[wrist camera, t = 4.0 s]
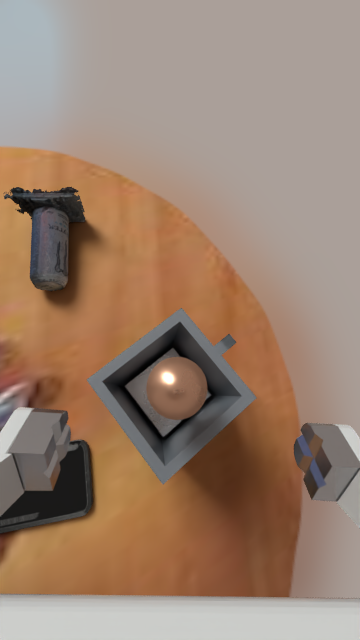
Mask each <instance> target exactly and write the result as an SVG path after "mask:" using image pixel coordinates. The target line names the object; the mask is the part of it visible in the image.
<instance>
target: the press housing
mask: <svg viewBox="0 0 360 640" xmlns="http://www.w3.org/2000/svg"><path fill="white" fill-rule="evenodd" d="M235 343H236V341H235V340H234V339H233V338H232V337H231V335H230V334H228V335H227V336H226V337H225V338H223V339H222V340H221V341H220V342H218V343H217V344H216V345H215V346H213V345H212V344H211V343H210V341H209V340H208V339H207V338H206V337H205V335H204V334H203V333H202V332H201V331H200V329H199V328H198V327H197V326H196V325H195V323H194V322H193V321H192V320H191V319H190V317H189V316H188V315H187V314H186V313H185V311H184V310H183V309H182V308H181V309H179V310H178V311H177V312H175V313H174V314H173V315H171V316H170V317H169V318H167V319H166V320H165V321H163V322H162V323H161V324H159V325H158V326H157V327H155V328H154V329H153V330H151V331H150V332H149V333H148V334H146V335H145V336H144V337H142V338H141V339H140V340H138V341H137V342H136V343H134V344H133V345H132V346H130V347H129V348H128V349H126V350H125V351H124V352H122V353H121V354H120V355H119V356H117V357H116V358H115V359H113V360H112V361H111V362H109V363H108V364H107V365H105V366H104V367H103V368H101V369H100V370H99V371H97V372H96V373H95V374H93V375H92V376H91V377H89V378H88V379H87V381H88V382H89V384H90V385H91V387H92V388H93V389H94V391H95V392H96V393H97V395H98V396H99V397H100V399H101V400H102V402H103V403H104V404H105V406H106V407H107V408H108V410H109V411H110V413H111V414H112V415H113V417H114V418H115V419H116V421H117V422H118V424H119V425H120V426H121V428H122V429H123V430H124V432H125V433H126V435H127V436H128V437H129V439H130V440H131V441H132V443H133V444H134V446H135V447H136V448H137V450H138V451H139V452H140V454H141V455H142V457H143V458H144V459H145V461H146V462H147V463H148V465H149V466H150V467H151V469H152V470H153V472H154V473H155V474H156V476H157V477H158V478H159V480H160V481H161V483H162V484H164V483H165V482H166V481H167V480H168V479H169V478H171V477H172V476H173V475H174V474H175V473H176V472H177V471H178V470H179V469H180V468H181V467H182V466H184V465H185V464H186V463H187V462H188V461H189V460H190V459H191V458H192V457H193V456H194V455H195V454H196V453H198V452H199V451H200V450H201V449H202V448H203V447H204V446H205V445H206V444H207V443H208V442H209V441H211V440H212V439H213V438H214V437H215V436H216V435H217V434H218V433H219V432H220V431H221V430H222V429H223V428H225V427H226V426H227V425H228V424H229V423H230V422H231V421H232V420H233V419H234V418H235V417H236V416H237V415H239V414H240V413H241V412H242V411H243V410H244V409H245V408H246V407H247V406H248V405H249V404H250V403H252V402H253V401H254V400H255V399H256V396H255V395H254V394H253V393H252V392H251V390H250V389H249V388H248V387H247V386H246V384H245V383H244V382H243V381H242V380H241V378H240V377H239V376H238V375H237V374H236V372H235V371H234V370H233V369H232V368H231V366H230V365H229V364H228V363H227V362H226V361H225V359H224V358H223V357H222V356H221V355H222V354H223V353H225V352H226V351H227V350H228V349H229V348H231V347H232V346H233V345H234V344H235ZM172 348H174V350H175V351H176V352H177V353H178V355H179V356H180V357H183V358H187V359H189V360H191V361H193V362H194V363H196V364H197V365H198V366H199V367H200V368H201V370H202V371H203V373H204V375H205V377H206V381H207V391H208V392H209V393H210V394H211V395H210V396H209V397H208V398H207V399H206V400H205V402H204V404H203V405H202V407H201V408H200V410H199V411H198V412H196V413H195V414H194V415H192V416H191V417H188V418H186V419H183V420H182V421H181V422H180V423H179V424H177V425H176V426H175V427H174V428H173V429H172V430H171V431H169V432H168V433H167V434H166V435H165V436H164V437H163V436H162V434H161V433H160V432H159V430H158V429H157V428H156V427H155V425H154V424H153V423H152V421H151V420H150V419H149V417H148V416H147V415H146V413H145V412H144V411H143V409H142V408H141V407H140V405H139V404H138V403H137V401H136V400H135V399H134V397H133V396H132V395H131V393H130V392H129V391H128V389H127V388H126V387H125V385H127V384H128V383H129V382H130V381H132V380H133V379H134V378H136V377H137V376H138V375H139V374H141V373H142V372H143V371H144V370H146V369H147V368H148V367H149V366H151V365H152V364H153V363H154V362H156V361H157V360H158V359H159V358H161V357H162V356H163V355H165V354H166V353H167V352H168V351H170V350H171V349H172Z"/></svg>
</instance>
